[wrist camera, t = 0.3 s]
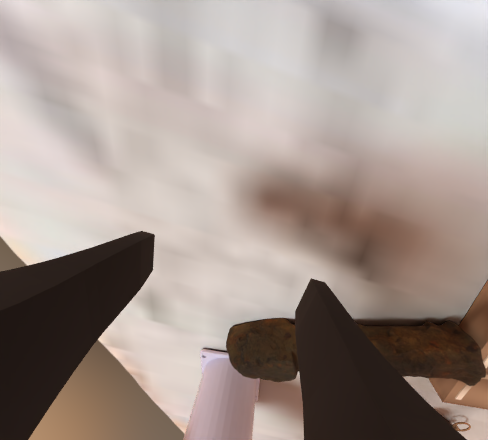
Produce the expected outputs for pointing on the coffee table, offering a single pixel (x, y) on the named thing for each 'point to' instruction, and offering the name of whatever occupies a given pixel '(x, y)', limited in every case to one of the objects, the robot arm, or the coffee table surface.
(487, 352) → the light brown wooden board
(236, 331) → the hand tool
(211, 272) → the coffee table surface
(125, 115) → the coffee table surface
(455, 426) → the compass
